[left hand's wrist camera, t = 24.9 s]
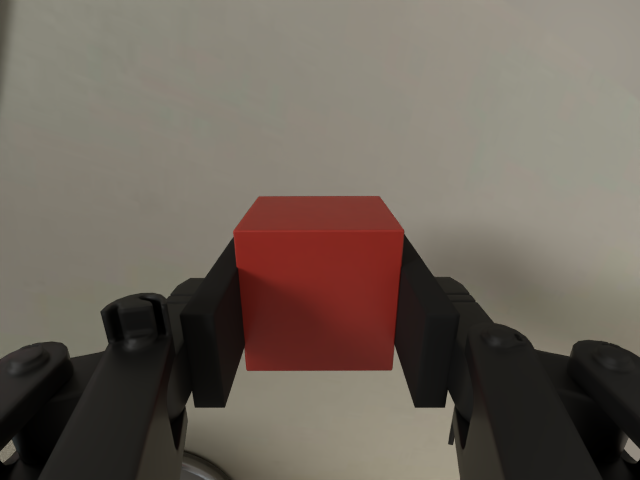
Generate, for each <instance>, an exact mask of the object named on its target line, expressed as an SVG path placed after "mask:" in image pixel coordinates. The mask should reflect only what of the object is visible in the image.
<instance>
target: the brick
mask: <svg viewBox="0 0 640 480" xmlns="http://www.w3.org/2000/svg"><path fill="white" fill-rule="evenodd" d="M233 235H234V245H235V255H236V266H237V267H238V273H239V284H240V295H241V305H242V316H243V327H244V338H245V346H244V349H245V360H246V369H247V371H366V370H392V368H393V356H394V345H395V344H394V343H395V332H396V321H397V310H398V298H399V287H400V276H401V265H402V253H403V242H404V229H403V228H402V227H401V225H400V224H399V222H398V221H397V220H396V218H395V217H394V216H393V214H392V213H391V211H390V210H389V209H388V207H387V206H386V204H385V203H384V202H383V200H382V199H381V198H380V196H260V197H258V198H257V200H256V201H255V202H254V204H253V205H252V206H251V208H250V209H249V210H248V212H247V213H246V214H245V216H244V217H243V219H242V220H241V221H240V223H239V224H238V225H237V227H236V228H235V229H234V231H233Z"/></svg>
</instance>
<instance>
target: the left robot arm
mask: <svg viewBox="0 0 640 480" xmlns="http://www.w3.org/2000/svg"><path fill="white" fill-rule="evenodd" d="M101 316H102V320H103V324H104V327H105V331H106V335H107V339H108V343H109V344H108V346H107V348H106V350H105V351H103V352H99V353H94V354H89V355H84V356H79V357H74V358H70V355H69V352H68V349H67V347H66V346H65V345H64V344H62V343H59V342H43V343H35V344H32V345H28V346H25V347H22V348H20V349H19V350H17V351H14V352H12V353H10V354H8V355H6V356H5V357H3V358H2V359H0V451H1V450H2V449H3V448H4V447H5V446H6V445H7V444H8V443H9V441H10V440H11V439H12V441H13V443H14V446H15V448H16V451H15V453H14V454H13V455H12V456H11V457H10V458H9V459H8V460H6V461H5V462H4V463H2V462H1V461H0V480H230V479H229V478H228V476H227V475H225V474H224V473H223V472H222V471H221V470H220V469H218V468H217V467H216V466H214V465H212V464H211V463H209V462H207V461H206V460H204V459H201V458H199V457H197V456H194V455H192V454H189V453H186V452H184V445H185V437H186V430H187V423H188V420H187V412H186V407H185V405H186V403H187V400H188V398H189V396H190V394H191V392H192V393H193V399H194V405H195V408H225V405H226V402H227V399H228V396H229V393H230V390H231V387H232V384H233V381H234V378H235V374H236V371H237V368H238V365H239V362H240V359H241V356H242V353H243V350H244V346H245V338H244V327H243V316H242V305H241V295H240V284H239V273H238V267H237V266H236V255H235V245H234V237H233V238H232V240H231V241H230V243H229V244H228V246H227V247H226V248H225V250H224V251H223V253H222V254H221V256H220V257H219V258H218V260H217V261H216V263H215V264H214V266H213V267H212V269H211V270H210V271H209V273H208V274H207V276H206V277H205V278H190V279H188V280H186V281H185V282H183V283H181V284H180V285H178V286H177V287H176V288H175V290H174V291H173V292H172V293H171V296H169V297H168V298H167V299H166V298H165V297H163V296H162V295H160V294H155V293H139V294H134V295H129V296H126V297H123V298H120V299H117V300H115V301H114V302H112V303H110V304H108V305H107V306H106V307H105V308H104V309H103V310H102V311H101ZM394 344H395V347H396V350H397V353H398V357H399V360H400V363H401V366H402V369H403V372H404V375H405V378H406V381H407V385H408V388H409V391H410V394H411V397H412V400H413V403H414V406H415V408H445V404H446V398H447V392H448V391H449V393H450V395H451V397H452V399H453V401H454V404H455V407H454V412H453V418H452V423H451V429H450V435H449V442H448V444H450V445H453V442H454V437H455V444H456V451H457V459H458V466H459V473H460V480H640V460H639V461H638V462H637V461H635V460H634V459H633V458H632V457H631V456H630V455H629V454H628V453H627V452H626V451H625V450H624V447H625V445H626V442H627V440H628V438H630V439H631V440H632V441H633V442H634V443H635V444H636V445H637V446H638V447H639V449H640V357H638V356H637V355H635V354H633V353H632V352H630V351H628V350H625V349H623V348H621V347H619V346H618V345H615V344H612V343H610V344H609V343H608V342H603V341H594V340H584V341H578V342H577V343H576V344H574V345H573V348H572V351H571V354H570V356H564V355H559V354H554V353H549V352H544V351H539V350H535V349H534V347H533V346H532V344H531V342H530V341H529V340H528V339H527V338H526V336H524V335H523V334H521V333H520V332H518V331H517V330H515V329H512V328H510V327H507V326H505V325H501V324H497V323H494V322H493V321H492V320H491V319H490V317H489V316H488V315H487V314H486V313H485V311H484V310H483V309H482V308H481V307H480V305H479V304H478V303H477V302H475V299H474V298H473V297H472V296H471V295H469V292H468V291H467V290H466V288H465V287H464V286H463V285H462V284H461V283H459V282H457V281H456V280H454V279H452V278H450V277H434V276H433V275H432V273H431V272H430V270H429V269H428V268H427V266H426V265H425V263H424V262H423V260H422V259H421V257H420V256H419V255H418V253H417V252H416V250H415V249H414V247H413V246H412V244H411V243H410V242H409V240H408V239H407V237H406V236H405V234H404V242H403V253H402V265H401V276H400V287H399V298H398V310H397V321H396V332H395V343H394Z"/></svg>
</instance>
